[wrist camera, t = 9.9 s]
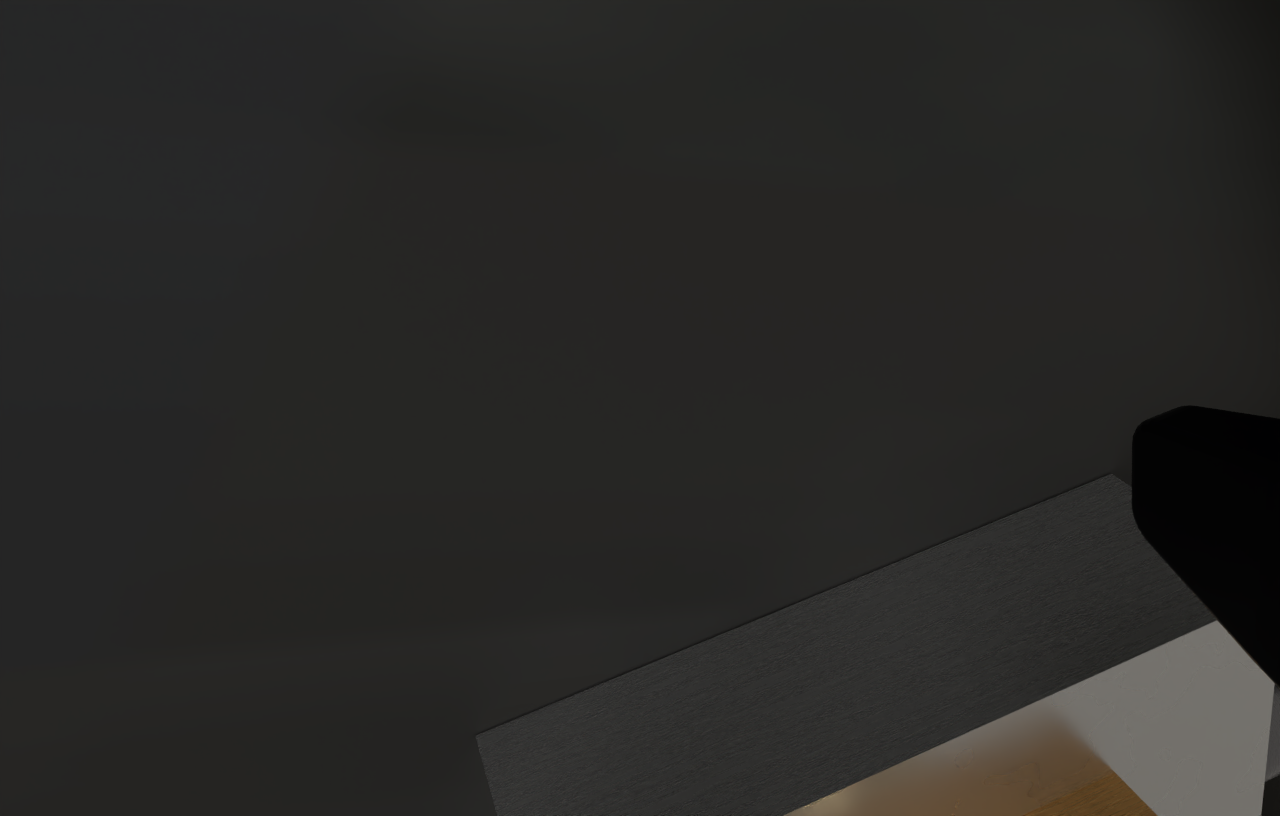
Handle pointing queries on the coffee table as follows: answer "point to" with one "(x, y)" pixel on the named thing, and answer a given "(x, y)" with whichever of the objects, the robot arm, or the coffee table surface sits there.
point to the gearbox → (931, 695)
